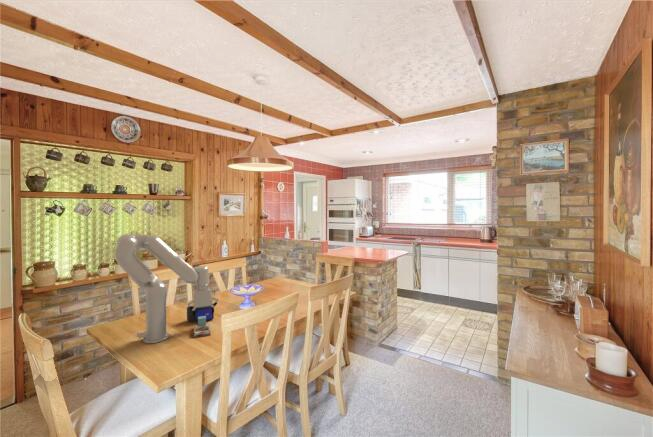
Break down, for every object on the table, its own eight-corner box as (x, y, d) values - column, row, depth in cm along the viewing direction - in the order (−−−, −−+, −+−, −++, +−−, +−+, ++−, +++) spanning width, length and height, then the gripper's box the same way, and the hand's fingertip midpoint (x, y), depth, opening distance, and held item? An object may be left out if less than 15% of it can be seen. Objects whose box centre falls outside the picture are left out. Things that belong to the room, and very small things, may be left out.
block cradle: (193, 337, 160) (193, 333, 160) (193, 331, 168) (193, 327, 168) (210, 335, 164) (210, 330, 164) (210, 329, 172) (210, 324, 172)
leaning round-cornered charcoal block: (184, 323, 180) (184, 308, 180) (187, 320, 185) (187, 305, 185) (212, 322, 183) (212, 307, 182) (214, 319, 187) (213, 304, 187)
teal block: (198, 329, 172) (198, 319, 171) (198, 326, 176) (198, 316, 175) (206, 328, 173) (206, 318, 173) (206, 325, 177) (205, 315, 177)
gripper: (186, 290, 167) (187, 319, 168) (218, 286, 174) (219, 314, 175) (186, 287, 174) (188, 315, 175) (217, 283, 181) (218, 310, 182)
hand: (203, 314), depth 175 cm, fingers open, 9 cm apart
